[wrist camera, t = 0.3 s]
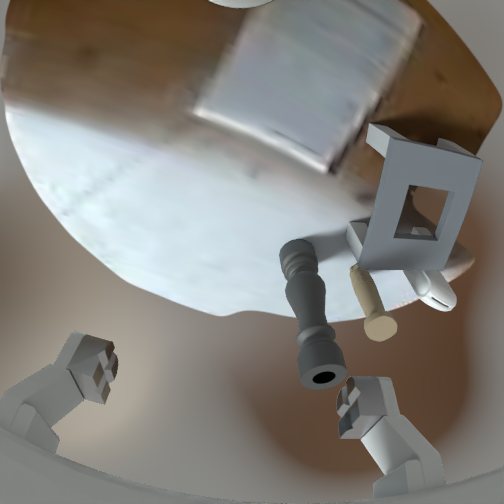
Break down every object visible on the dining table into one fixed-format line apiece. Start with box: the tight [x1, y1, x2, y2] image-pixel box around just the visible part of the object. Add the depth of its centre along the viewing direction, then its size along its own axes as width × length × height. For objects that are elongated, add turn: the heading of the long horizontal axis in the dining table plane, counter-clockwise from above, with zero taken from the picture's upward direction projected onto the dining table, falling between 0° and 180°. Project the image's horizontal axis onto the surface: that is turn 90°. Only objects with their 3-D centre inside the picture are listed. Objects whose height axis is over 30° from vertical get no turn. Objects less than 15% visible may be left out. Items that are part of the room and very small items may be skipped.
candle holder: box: [279, 239, 347, 390], centre depth 45 cm, size 6×6×25 cm
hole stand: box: [346, 123, 483, 271], centre depth 44 cm, size 20×16×9 cm
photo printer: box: [403, 270, 457, 311], centre depth 52 cm, size 10×4×12 cm, turn 62°
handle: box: [350, 264, 397, 341], centre depth 51 cm, size 5×6×15 cm
